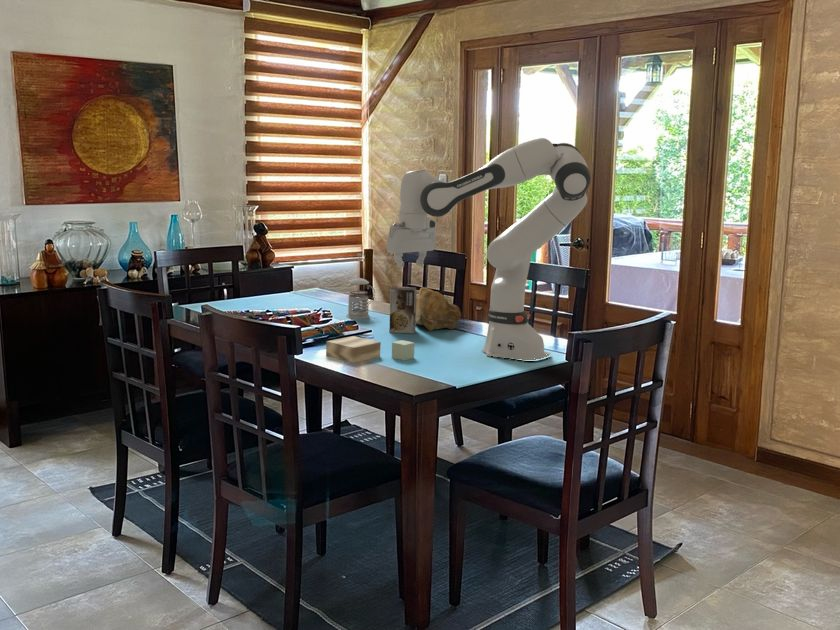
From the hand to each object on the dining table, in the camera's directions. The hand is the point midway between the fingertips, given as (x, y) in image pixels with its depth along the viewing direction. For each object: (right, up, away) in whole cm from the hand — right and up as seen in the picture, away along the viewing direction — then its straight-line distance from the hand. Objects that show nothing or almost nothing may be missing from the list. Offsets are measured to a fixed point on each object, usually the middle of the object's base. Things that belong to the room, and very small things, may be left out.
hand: (410, 266), depth 260 cm
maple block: (-18, -29, 0) cm, 34 cm away
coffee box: (-3, -22, +40) cm, 45 cm away
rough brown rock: (+10, -20, +50) cm, 54 cm away
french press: (-21, -16, +66) cm, 71 cm away
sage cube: (-2, -29, 0) cm, 29 cm away
